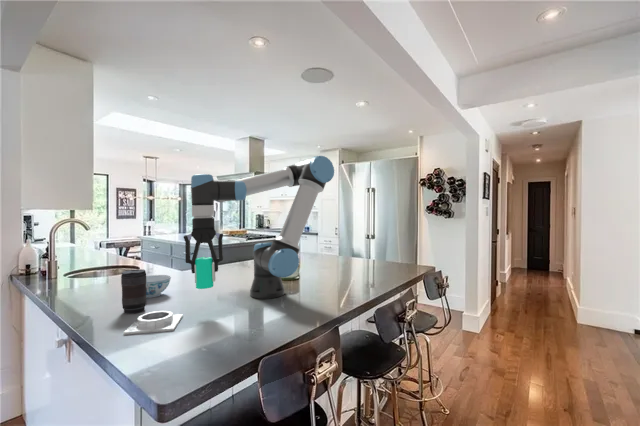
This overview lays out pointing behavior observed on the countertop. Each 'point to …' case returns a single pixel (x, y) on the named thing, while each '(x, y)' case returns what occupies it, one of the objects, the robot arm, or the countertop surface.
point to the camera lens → (133, 291)
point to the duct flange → (154, 323)
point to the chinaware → (156, 284)
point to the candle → (204, 272)
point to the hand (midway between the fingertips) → (205, 281)
